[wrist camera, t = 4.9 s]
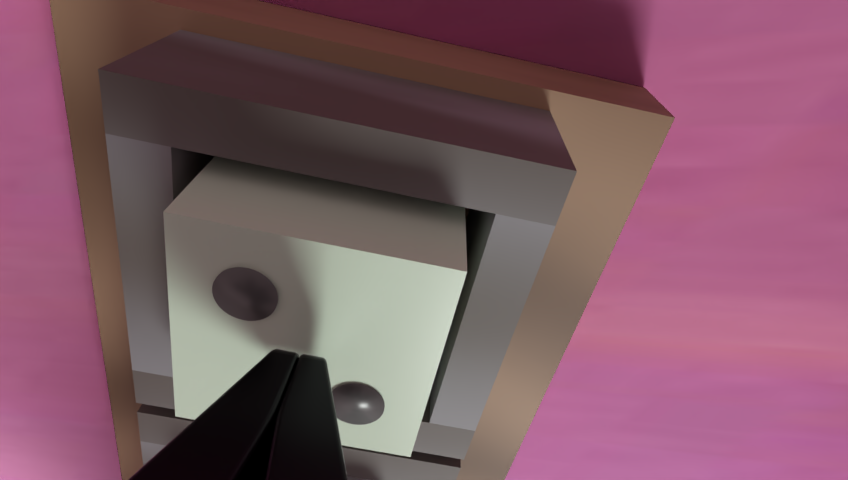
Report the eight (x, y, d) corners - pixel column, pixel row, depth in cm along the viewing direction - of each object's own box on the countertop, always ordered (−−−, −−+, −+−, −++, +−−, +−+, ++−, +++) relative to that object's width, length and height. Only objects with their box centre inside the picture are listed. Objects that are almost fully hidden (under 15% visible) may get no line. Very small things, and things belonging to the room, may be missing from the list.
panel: (432, 585, 24) (427, 722, 20) (161, 543, 24) (100, 677, 20) (644, 87, 12) (737, 180, 8) (105, -35, 12) (-84, 1, 7)
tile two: (417, 365, 12) (410, 459, 10) (222, 328, 12) (173, 418, 10) (464, 196, 10) (467, 273, 8) (224, 146, 10) (161, 213, 8)
